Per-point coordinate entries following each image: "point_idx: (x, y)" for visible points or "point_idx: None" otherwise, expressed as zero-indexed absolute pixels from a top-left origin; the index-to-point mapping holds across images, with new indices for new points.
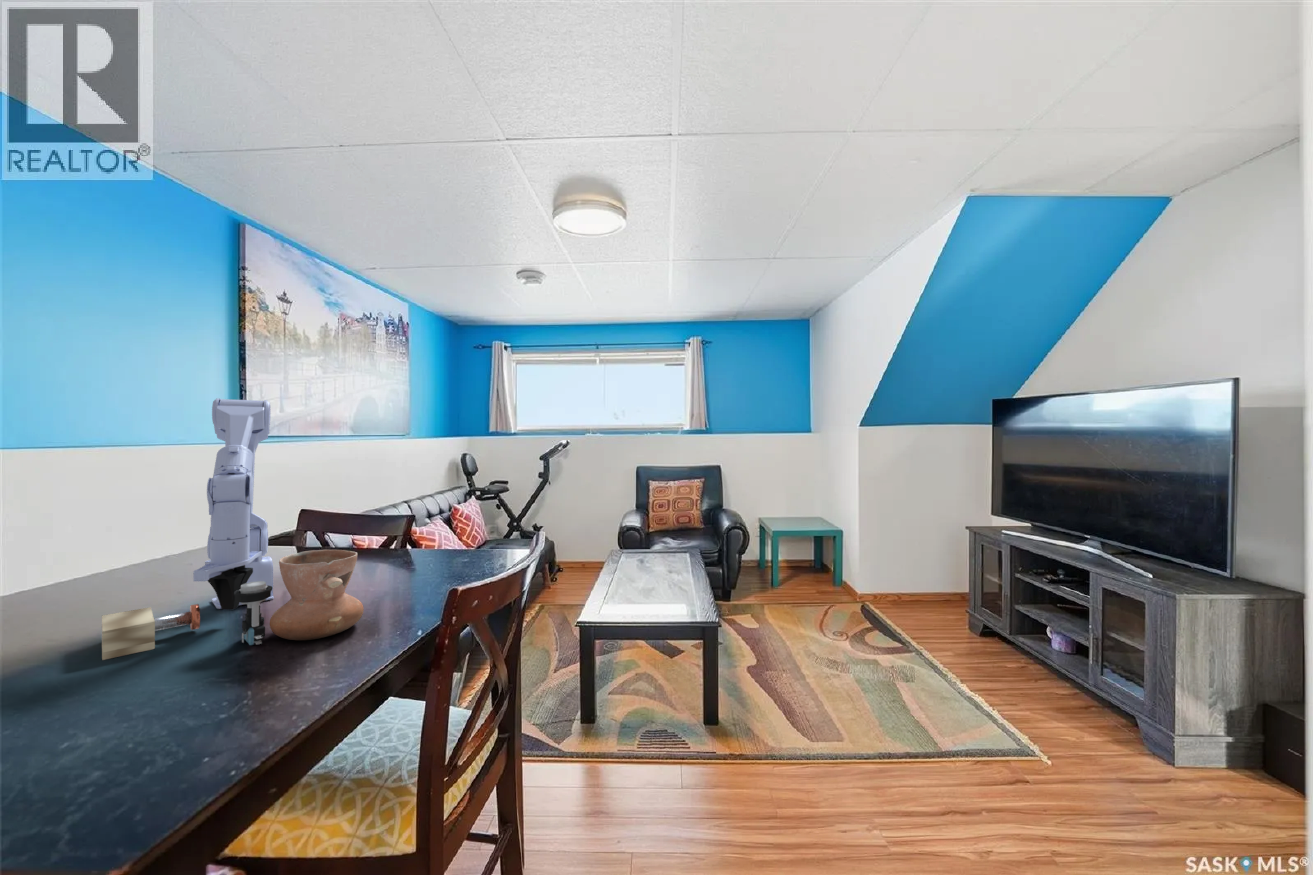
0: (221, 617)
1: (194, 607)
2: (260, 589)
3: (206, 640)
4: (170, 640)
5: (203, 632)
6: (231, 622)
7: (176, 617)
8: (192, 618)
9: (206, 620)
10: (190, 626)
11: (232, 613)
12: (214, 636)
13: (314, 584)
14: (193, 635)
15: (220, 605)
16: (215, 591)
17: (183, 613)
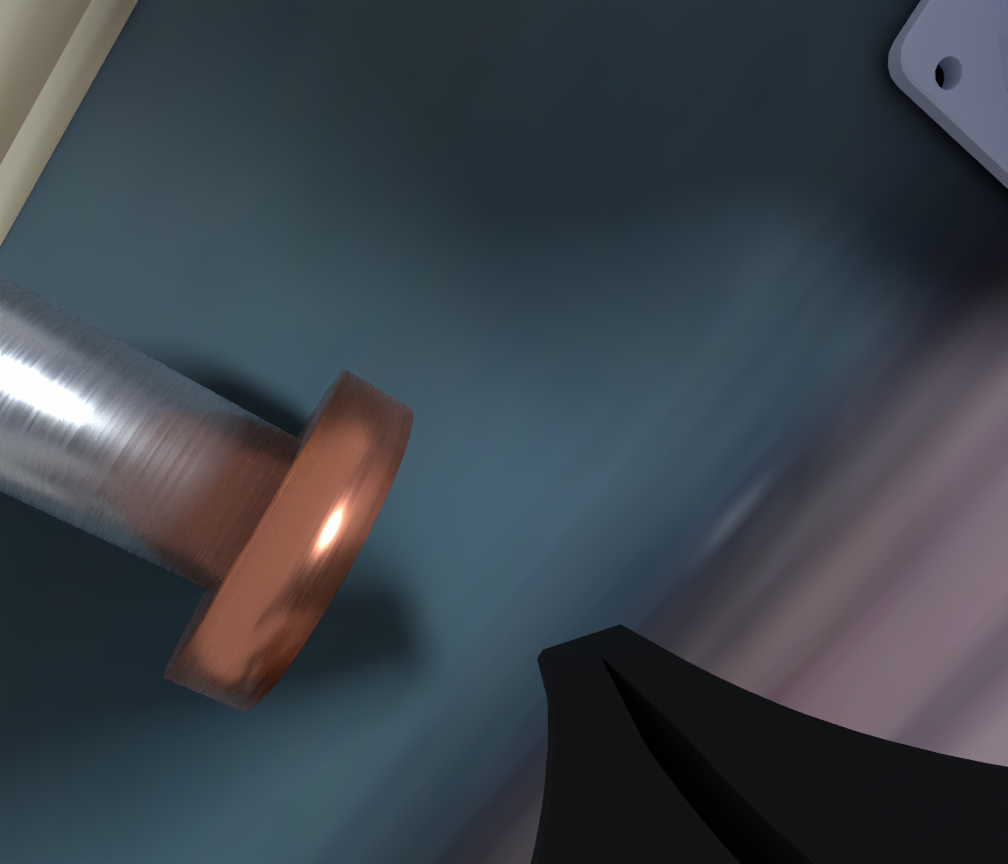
0: (694, 332)
1: (222, 656)
2: None
3: (166, 803)
4: None
5: None
6: (592, 567)
7: (51, 510)
8: (174, 651)
9: (595, 263)
10: (300, 432)
11: (807, 328)
12: (264, 772)
13: None
14: None
15: (547, 670)
16: (540, 829)
17: (149, 517)
